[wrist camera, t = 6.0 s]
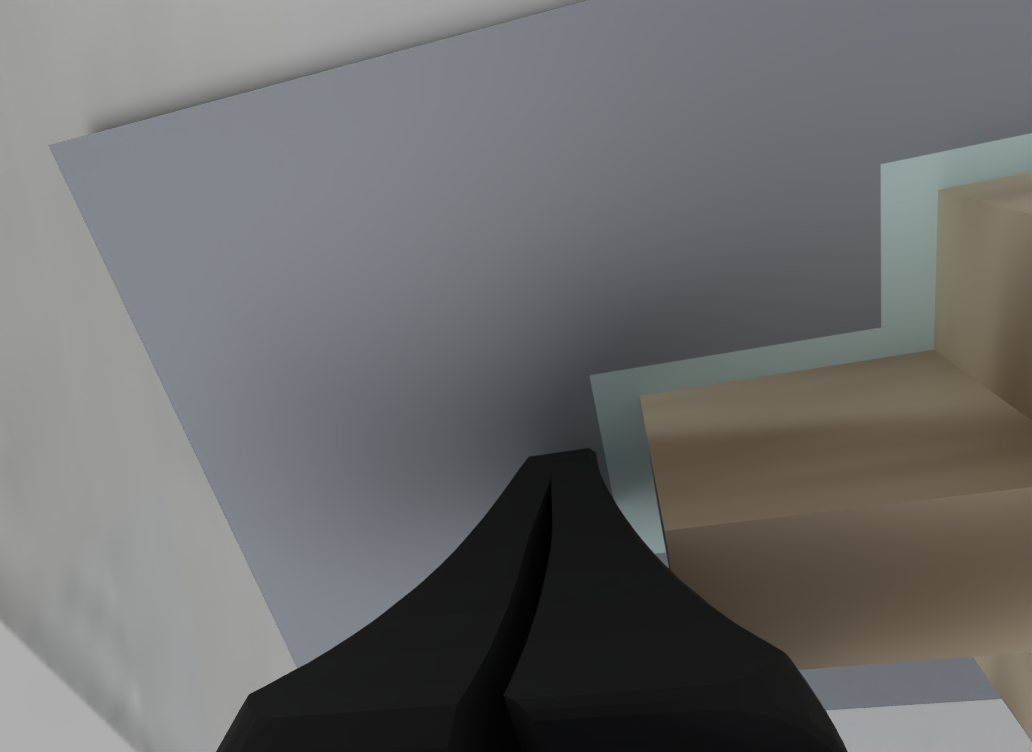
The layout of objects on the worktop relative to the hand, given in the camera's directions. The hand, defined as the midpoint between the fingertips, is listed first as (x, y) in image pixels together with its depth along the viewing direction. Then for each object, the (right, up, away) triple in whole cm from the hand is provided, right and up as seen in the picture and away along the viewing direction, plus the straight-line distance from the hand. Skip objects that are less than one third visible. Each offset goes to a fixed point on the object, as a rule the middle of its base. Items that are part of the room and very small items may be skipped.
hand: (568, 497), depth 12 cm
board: (+2, +1, +1) cm, 3 cm away
